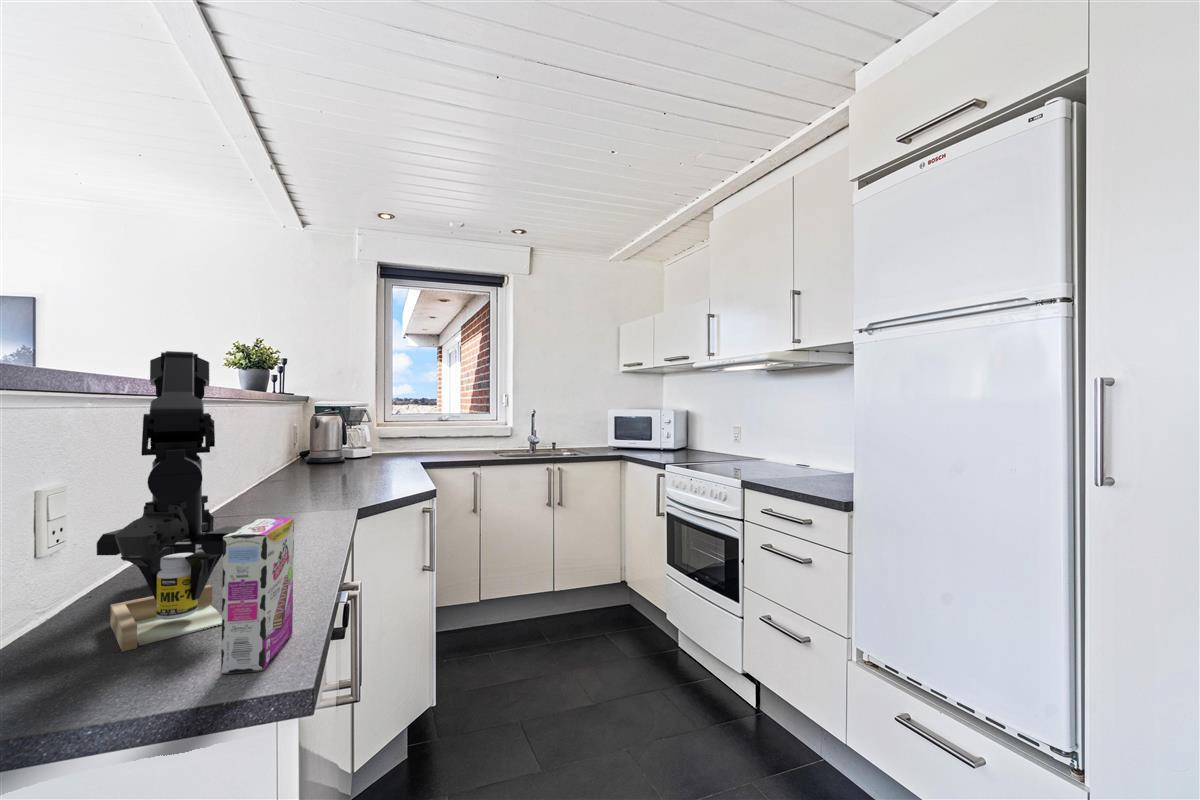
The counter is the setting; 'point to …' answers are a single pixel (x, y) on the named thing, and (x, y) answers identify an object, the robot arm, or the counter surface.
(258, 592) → the candy bar box
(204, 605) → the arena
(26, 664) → the counter surface
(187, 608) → the supplement bottle
